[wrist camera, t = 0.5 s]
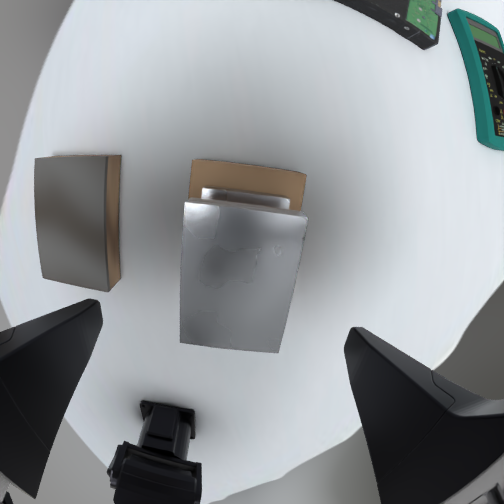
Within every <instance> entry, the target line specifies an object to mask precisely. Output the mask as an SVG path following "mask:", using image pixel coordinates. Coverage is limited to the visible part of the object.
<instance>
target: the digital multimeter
mask: <svg viewBox="0 0 504 504" xmlns="http://www.w3.org/2000/svg"><path fill="white" fill-rule="evenodd" d="M448 17H449V20H450V23H451V25H452V28H453V30H454V33H455V35H456V38H457V41H458V43H459V46H460V49H461V52H462V56H463V59H464V63H465V66H466V70H467V74H468V78H469V82H470V87H471V93H472V98H473V104H474V111H475V119H476V130H477V139H478V141H479V142H480V143H481V144H483V145H485V146H487V147H489V148H492V149H495V150H502V151H504V44H503V41H502V38H501V35H500V32H499V30H498V29H497V28H496V27H494V26H493V25H492V24H490V23H489V22H487V21H485V20H484V19H482V18H480V17H478V16H476V15H474V14H472V13H469V12H467V11H464V10H461V9H455V10H453V11H451V12H449V13H448Z"/></svg>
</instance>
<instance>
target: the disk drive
mask: <svg viewBox="0 0 504 504" xmlns="http://www.w3.org/2000/svg"><path fill="white" fill-rule="evenodd" d="M334 1H337V2H339V3H341V4H344V5H345V6H348V7H350V8H353V9H354V10H357V11H359V12H360V13H363V14H365V15H367V16H369V17H371V18H372V19H374V20H376V21H378V22H380V23H382V24H383V25H385V26H387V27H389V28H390V29H392V30H394V31H395V32H396V33H398V34H399V35H401V36H402V37H404V38H406V39H408V40H409V41H411V42H413V43H414V44H415V45H417V46H418V47H420V48H421V49H423V50H425V49H428V48H430V47H432V46H435V45H437V44H438V40H439V32H440V23H441V18H440V17H441V16H442V8H441V0H334Z"/></svg>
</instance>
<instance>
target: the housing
mask: <svg viewBox="0 0 504 504" xmlns="http://www.w3.org/2000/svg"><path fill="white" fill-rule="evenodd" d="M289 204H290V198H289V197H288V196H284V195H278V194H271V193H264V192H256V191H249V190H241V189H232V188H224V187H215V186H204V187H203V188H202V197H201V198H193V197H191V198H189V199H188V200H187V201H186V202H185V206H184V220H183V235H182V254H181V280H180V343H186V344H193V345H200V346H208V347H216V348H224V349H233V350H244V351H255V352H268V353H279V349H280V345H281V341H282V337H283V333H284V329H285V325H286V320H287V316H288V312H289V308H290V303H291V299H292V295H293V290H294V286H295V281H296V277H297V272H298V267H299V263H300V258H301V253H302V248H303V243H304V238H305V233H306V228H307V223H308V217H307V216H306V215H305V214H304V213H303V212H302V211H297V210H290V209H289Z"/></svg>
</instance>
